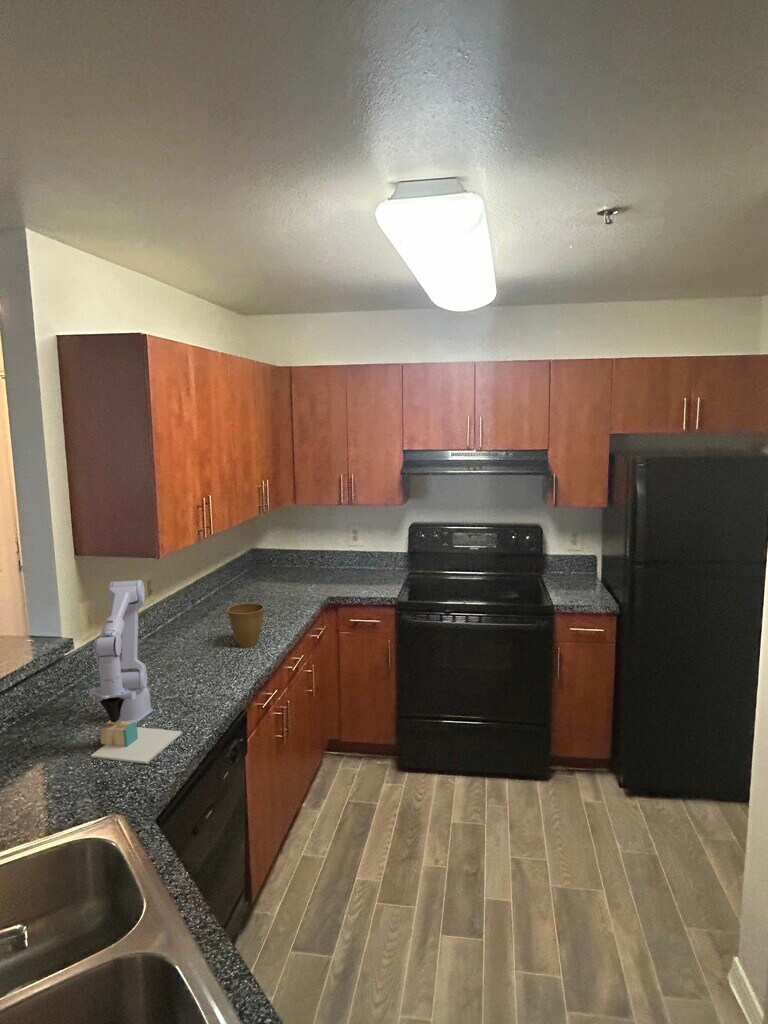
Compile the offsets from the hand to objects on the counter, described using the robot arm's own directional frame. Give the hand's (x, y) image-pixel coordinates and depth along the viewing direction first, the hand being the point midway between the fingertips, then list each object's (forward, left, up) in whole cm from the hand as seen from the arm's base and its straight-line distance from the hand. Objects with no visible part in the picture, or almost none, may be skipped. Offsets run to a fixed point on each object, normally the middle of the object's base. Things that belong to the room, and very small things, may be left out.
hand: (115, 720), depth 193 cm
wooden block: (0, -4, -4) cm, 5 cm away
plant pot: (-86, 0, -7) cm, 86 cm away
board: (0, +7, -7) cm, 10 cm away
